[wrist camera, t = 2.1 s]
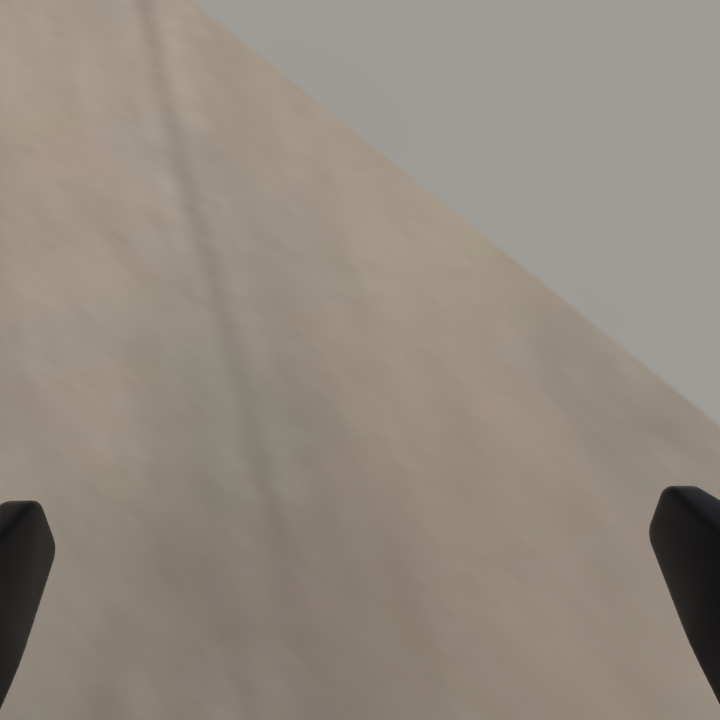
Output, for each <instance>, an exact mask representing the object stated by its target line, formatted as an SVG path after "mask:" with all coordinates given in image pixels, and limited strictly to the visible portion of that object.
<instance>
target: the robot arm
mask: <svg viewBox="0 0 720 720" xmlns="http://www.w3.org/2000/svg"><path fill="white" fill-rule="evenodd" d="M649 536H650V541H651V545H652V547H653V550H654V553H655V555H656V558H657V560H658V563H659V566H660V568H661V571H662V574H663V576H664V579H665V581H666V584H667V587H668V589H669V592H670V594H671V597H672V600H673V602H674V605H675V608H676V610H677V613H678V615H679V618H680V621H681V623H682V626H683V628H684V631H685V633H686V635H687V638H688V640H689V643H690V645H691V647H692V649H693V651H694V653H695V655H696V657H697V660H698V662H699V664H700V666H701V668H702V670H703V672H704V674H705V676H706V678H707V680H708V682H709V684H710V686H711V688H712V690H713V692H714V694H715V696H716V698H717V700H718V702H719V704H720V500H718V499H717V498H715V497H713V496H712V495H710V494H708V493H706V492H705V491H703V490H701V489H700V488H698V487H695V486H670V487H667V488H665V489H664V490H663V491H662V493H661V496H660V499H659V502H658V504H657V507H656V510H655V513H654V516H653V519H652V521H651V524H650V530H649ZM54 555H55V542H54V538H53V536H52V533H51V530H50V527H49V524H48V522H47V519H46V516H45V513H44V511H43V508H42V506H41V505H40V504H39V503H38V502H36V501H9V502H5V503H3V504H1V505H0V708H1V706H2V704H3V702H4V699H5V697H6V695H7V692H8V690H9V688H10V686H11V683H12V681H13V678H14V676H15V674H16V671H17V669H18V666H19V664H20V661H21V658H22V655H23V652H24V650H25V647H26V644H27V641H28V637H29V634H30V631H31V628H32V625H33V622H34V619H35V616H36V613H37V609H38V606H39V603H40V600H41V597H42V594H43V591H44V588H45V585H46V582H47V578H48V575H49V572H50V569H51V566H52V563H53V560H54Z"/></svg>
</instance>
